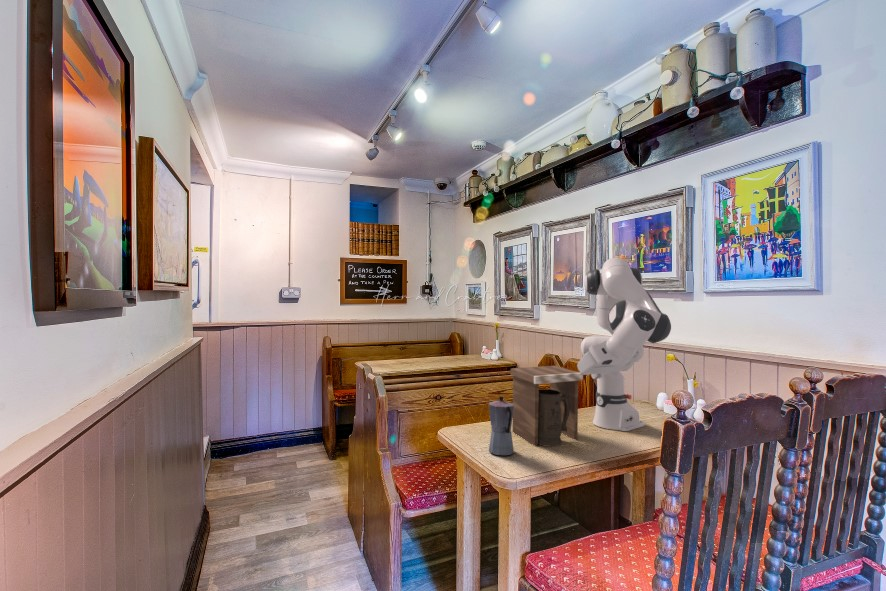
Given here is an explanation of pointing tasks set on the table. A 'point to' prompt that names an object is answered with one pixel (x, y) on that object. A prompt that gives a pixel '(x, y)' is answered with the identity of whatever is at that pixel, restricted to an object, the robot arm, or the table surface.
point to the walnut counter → (528, 398)
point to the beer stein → (551, 416)
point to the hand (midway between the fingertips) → (595, 377)
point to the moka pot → (501, 427)
